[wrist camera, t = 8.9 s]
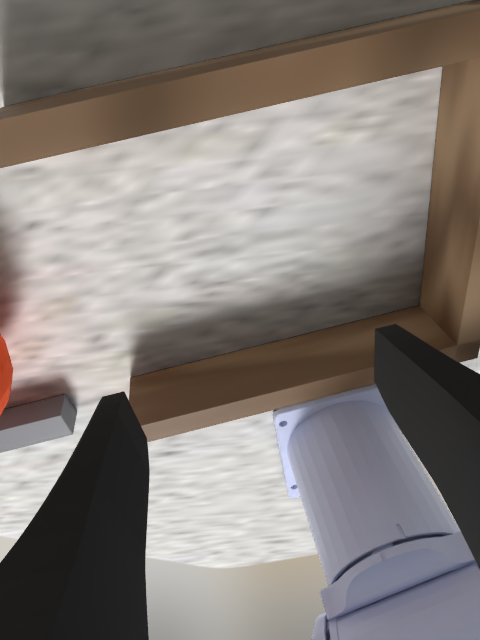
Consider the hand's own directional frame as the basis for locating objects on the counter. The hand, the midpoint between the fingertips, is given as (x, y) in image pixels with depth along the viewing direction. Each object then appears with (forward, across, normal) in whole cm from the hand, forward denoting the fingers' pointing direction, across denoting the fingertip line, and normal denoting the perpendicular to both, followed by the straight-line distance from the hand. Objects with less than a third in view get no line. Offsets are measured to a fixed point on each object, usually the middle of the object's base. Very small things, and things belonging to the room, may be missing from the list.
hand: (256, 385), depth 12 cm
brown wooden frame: (+9, -2, 0) cm, 9 cm away
